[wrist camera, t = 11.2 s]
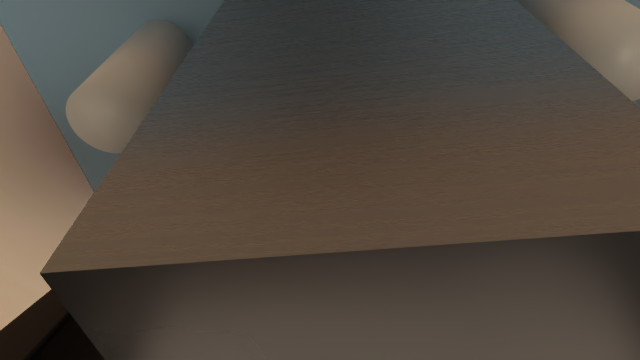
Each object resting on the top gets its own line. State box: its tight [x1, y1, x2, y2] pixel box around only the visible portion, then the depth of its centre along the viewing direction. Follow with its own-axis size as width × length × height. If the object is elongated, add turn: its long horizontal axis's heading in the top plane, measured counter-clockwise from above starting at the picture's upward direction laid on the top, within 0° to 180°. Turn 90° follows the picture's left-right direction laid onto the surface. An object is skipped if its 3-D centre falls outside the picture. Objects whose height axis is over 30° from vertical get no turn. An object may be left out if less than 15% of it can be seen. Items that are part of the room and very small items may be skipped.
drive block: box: [40, 0, 640, 360], centre depth 8 cm, size 4×8×7 cm, turn 7°
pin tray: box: [0, 0, 640, 192], centre depth 10 cm, size 14×14×4 cm
